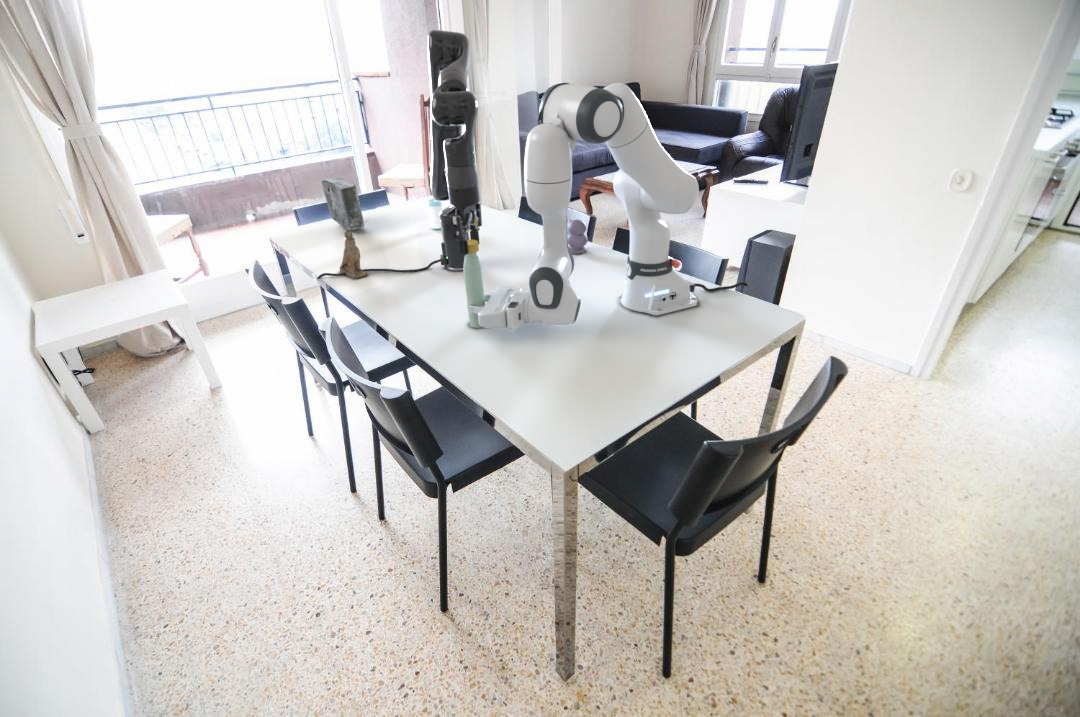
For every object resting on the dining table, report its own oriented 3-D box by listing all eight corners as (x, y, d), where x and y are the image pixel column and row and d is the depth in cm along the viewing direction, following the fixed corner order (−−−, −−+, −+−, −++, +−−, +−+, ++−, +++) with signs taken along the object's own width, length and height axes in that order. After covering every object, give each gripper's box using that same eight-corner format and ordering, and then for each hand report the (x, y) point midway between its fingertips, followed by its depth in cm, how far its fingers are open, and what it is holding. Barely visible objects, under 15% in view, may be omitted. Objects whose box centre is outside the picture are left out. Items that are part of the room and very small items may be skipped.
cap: (462, 254, 128) (461, 245, 127) (461, 248, 132) (460, 240, 130) (479, 252, 129) (478, 243, 128) (477, 247, 132) (477, 238, 131)
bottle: (468, 328, 140) (458, 248, 128) (471, 320, 144) (462, 241, 132) (485, 328, 139) (477, 248, 127) (488, 320, 143) (480, 242, 131)
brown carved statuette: (368, 281, 178) (362, 235, 166) (353, 285, 175) (347, 238, 163) (352, 266, 184) (346, 221, 172) (338, 270, 181) (331, 224, 169)
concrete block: (369, 232, 221) (359, 185, 210) (349, 236, 216) (338, 189, 206) (350, 219, 239) (340, 176, 229) (331, 223, 235) (320, 179, 225)
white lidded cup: (445, 229, 220) (441, 202, 214) (429, 230, 220) (425, 202, 214) (447, 224, 226) (444, 198, 220) (432, 225, 226) (428, 198, 220)
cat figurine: (592, 250, 190) (592, 219, 184) (579, 256, 185) (579, 224, 179) (574, 246, 195) (575, 215, 189) (561, 251, 191) (561, 220, 184)
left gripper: (460, 177, 128) (467, 240, 137) (435, 190, 116) (445, 258, 125) (487, 177, 126) (493, 241, 135) (465, 191, 114) (472, 260, 123)
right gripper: (529, 281, 143) (483, 278, 145) (510, 312, 126) (459, 308, 128) (530, 301, 146) (485, 298, 149) (512, 334, 129) (461, 330, 132)
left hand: (470, 249), depth 130 cm, fingers open, 6 cm apart
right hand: (473, 303), depth 138 cm, fingers closed on bottle, 5 cm apart
